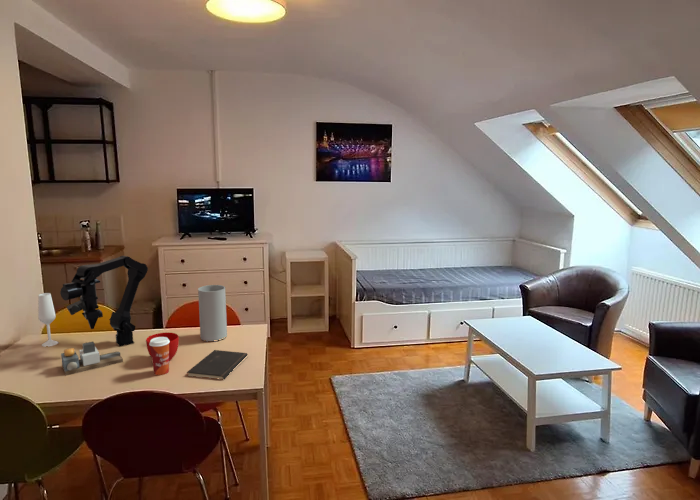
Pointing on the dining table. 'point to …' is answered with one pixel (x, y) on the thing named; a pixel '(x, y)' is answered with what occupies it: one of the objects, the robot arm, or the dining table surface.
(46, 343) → the champagne flute
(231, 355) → the hardcover book
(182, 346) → the dining table surface
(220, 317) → the cylinder vase
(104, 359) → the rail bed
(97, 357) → the carriage
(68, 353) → the button
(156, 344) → the paper cup
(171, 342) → the ceramic cup
